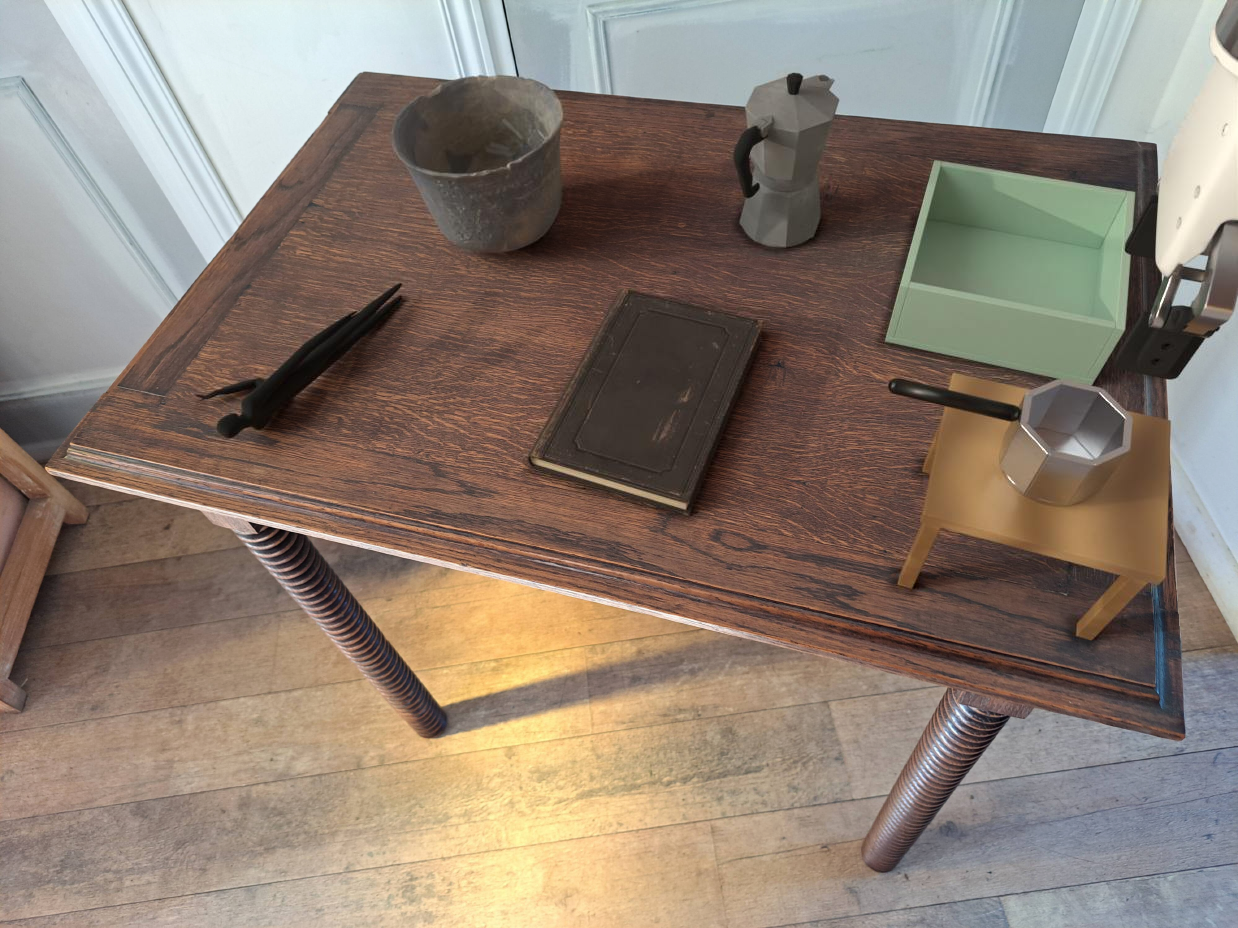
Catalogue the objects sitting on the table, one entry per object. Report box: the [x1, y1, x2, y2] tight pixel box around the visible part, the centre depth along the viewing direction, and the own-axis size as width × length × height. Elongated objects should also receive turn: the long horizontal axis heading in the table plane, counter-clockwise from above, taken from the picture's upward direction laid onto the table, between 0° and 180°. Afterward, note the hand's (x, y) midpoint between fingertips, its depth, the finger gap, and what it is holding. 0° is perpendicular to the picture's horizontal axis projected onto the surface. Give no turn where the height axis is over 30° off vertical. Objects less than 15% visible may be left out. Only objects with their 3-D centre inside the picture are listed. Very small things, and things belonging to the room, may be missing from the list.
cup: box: [390, 74, 564, 254], centre depth 94 cm, size 18×18×15 cm
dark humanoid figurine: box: [194, 282, 403, 439], centre depth 89 cm, size 8×9×25 cm
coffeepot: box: [732, 72, 840, 248], centre depth 90 cm, size 15×9×18 cm, turn 137°
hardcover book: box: [527, 288, 765, 516], centre depth 84 cm, size 16×23×2 cm
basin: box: [884, 159, 1136, 386], centre depth 86 cm, size 20×20×8 cm
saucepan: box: [887, 377, 1133, 506], centre depth 62 cm, size 16×7×6 cm, turn 69°
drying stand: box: [897, 372, 1172, 641], centre depth 68 cm, size 16×14×12 cm
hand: (1147, 310), depth 50 cm, fingers open, 9 cm apart
